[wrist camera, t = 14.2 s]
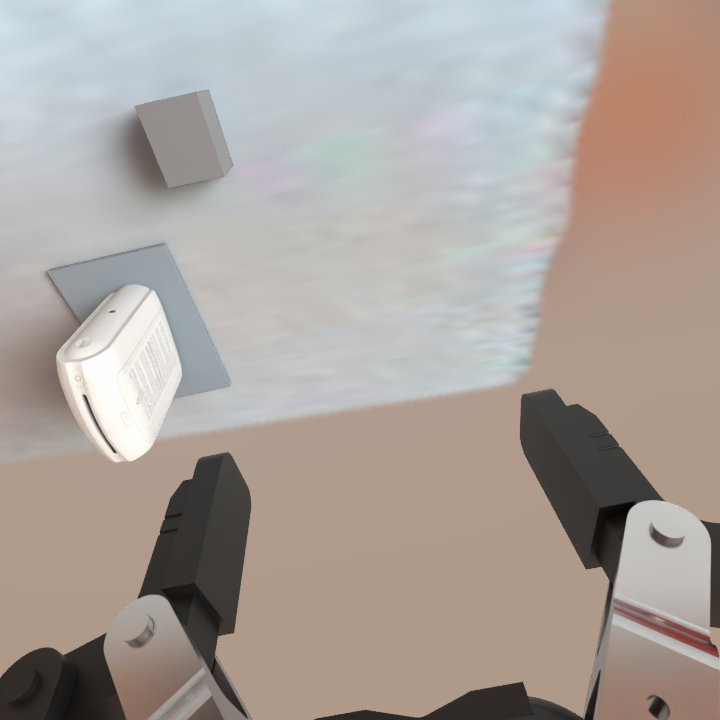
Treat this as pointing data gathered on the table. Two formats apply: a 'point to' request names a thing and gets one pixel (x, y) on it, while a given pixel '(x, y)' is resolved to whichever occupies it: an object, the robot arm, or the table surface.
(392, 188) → the table surface
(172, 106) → the gray block
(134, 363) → the photo printer
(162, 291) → the slate mat
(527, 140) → the table surface
